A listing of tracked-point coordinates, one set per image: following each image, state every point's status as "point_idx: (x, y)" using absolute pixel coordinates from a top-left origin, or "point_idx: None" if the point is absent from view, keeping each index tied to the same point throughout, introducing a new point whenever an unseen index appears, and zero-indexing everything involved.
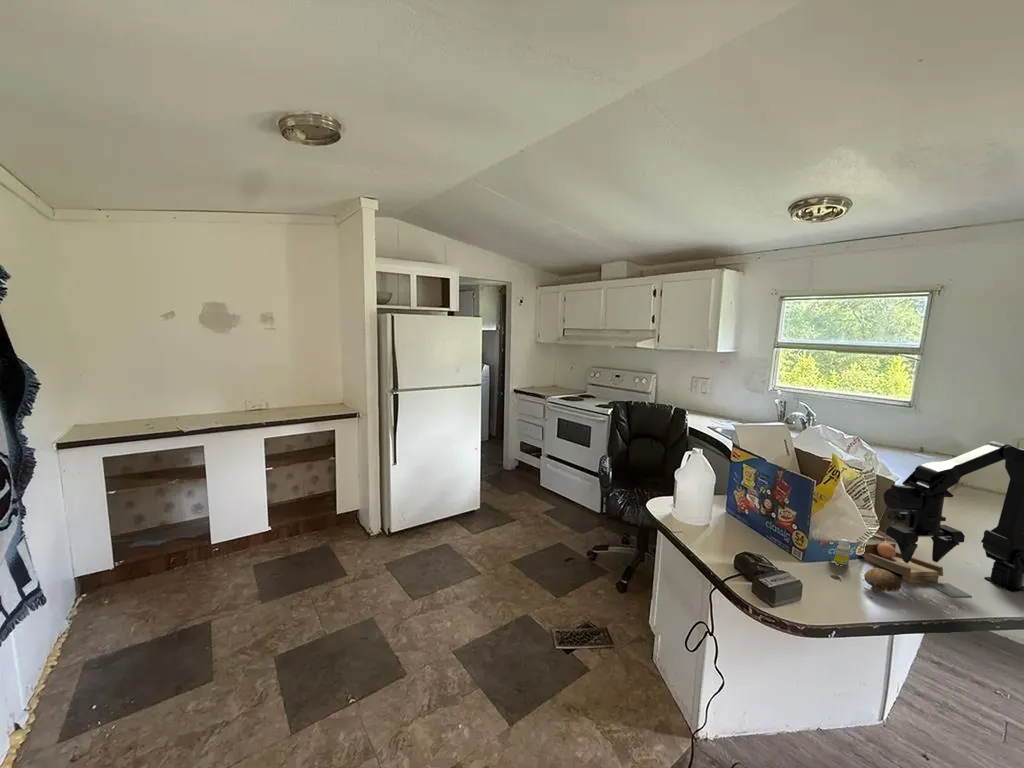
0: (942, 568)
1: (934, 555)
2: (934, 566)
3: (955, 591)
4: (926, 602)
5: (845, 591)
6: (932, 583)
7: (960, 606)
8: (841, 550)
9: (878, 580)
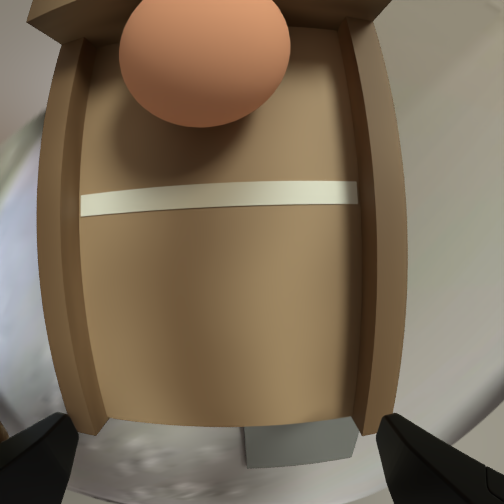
0: None
1: (403, 464)
2: (364, 400)
3: (316, 441)
4: (109, 462)
5: None
6: None
7: (224, 490)
8: None
9: None
